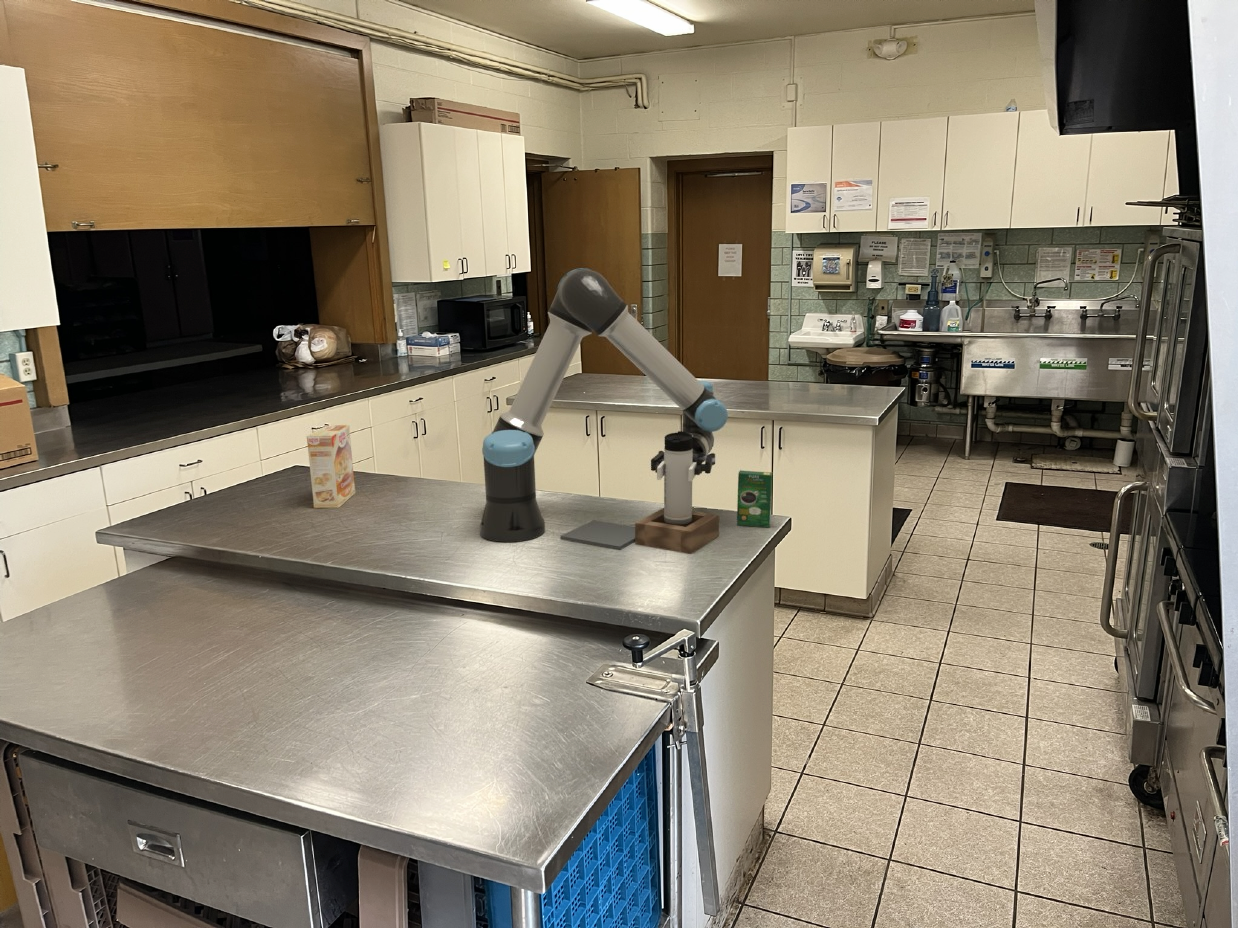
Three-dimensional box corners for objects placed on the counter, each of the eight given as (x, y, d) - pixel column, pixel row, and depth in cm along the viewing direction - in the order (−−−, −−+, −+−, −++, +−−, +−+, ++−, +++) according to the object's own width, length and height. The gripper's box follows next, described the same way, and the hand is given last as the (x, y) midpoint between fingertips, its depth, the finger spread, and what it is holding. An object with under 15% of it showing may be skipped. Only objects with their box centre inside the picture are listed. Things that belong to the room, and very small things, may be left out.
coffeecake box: (339, 508, 232) (332, 435, 227) (312, 508, 232) (304, 436, 227) (356, 493, 246) (350, 424, 242) (331, 493, 247) (324, 425, 242)
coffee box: (772, 524, 209) (773, 471, 206) (770, 528, 206) (771, 474, 203) (738, 522, 211) (738, 469, 208) (736, 526, 209) (736, 472, 206)
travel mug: (695, 517, 201) (696, 431, 196) (687, 526, 195) (688, 437, 190) (668, 515, 203) (669, 430, 198) (660, 523, 197) (660, 435, 192)
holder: (635, 544, 197) (634, 522, 196) (665, 527, 209) (665, 507, 208) (691, 553, 190) (691, 531, 189) (719, 535, 202) (719, 514, 201)
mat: (560, 539, 202) (560, 535, 202) (593, 523, 214) (593, 519, 213) (619, 549, 194) (619, 546, 194) (651, 532, 205) (651, 529, 205)
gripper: (730, 468, 212) (718, 493, 190) (652, 464, 216) (631, 488, 194) (731, 438, 210) (718, 459, 188) (652, 434, 214) (631, 455, 192)
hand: (674, 474), depth 191 cm, fingers closed on travel mug, 6 cm apart
